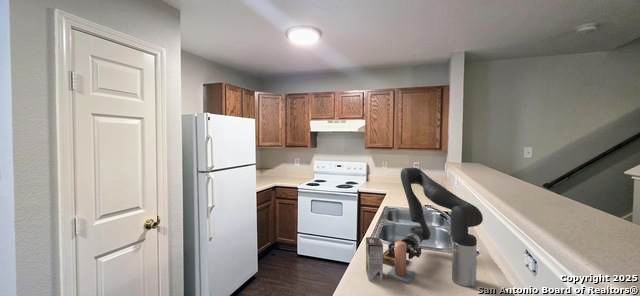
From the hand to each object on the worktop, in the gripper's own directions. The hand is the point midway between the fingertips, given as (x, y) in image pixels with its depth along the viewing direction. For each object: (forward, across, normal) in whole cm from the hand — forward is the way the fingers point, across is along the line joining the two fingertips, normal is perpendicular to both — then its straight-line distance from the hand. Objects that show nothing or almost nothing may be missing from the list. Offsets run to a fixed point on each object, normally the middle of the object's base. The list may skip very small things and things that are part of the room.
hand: (399, 254), depth 123 cm
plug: (-2, 0, +9) cm, 10 cm away
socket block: (-14, -8, +10) cm, 19 cm away
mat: (-2, 0, +10) cm, 11 cm away
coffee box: (+5, -10, +11) cm, 15 cm away
